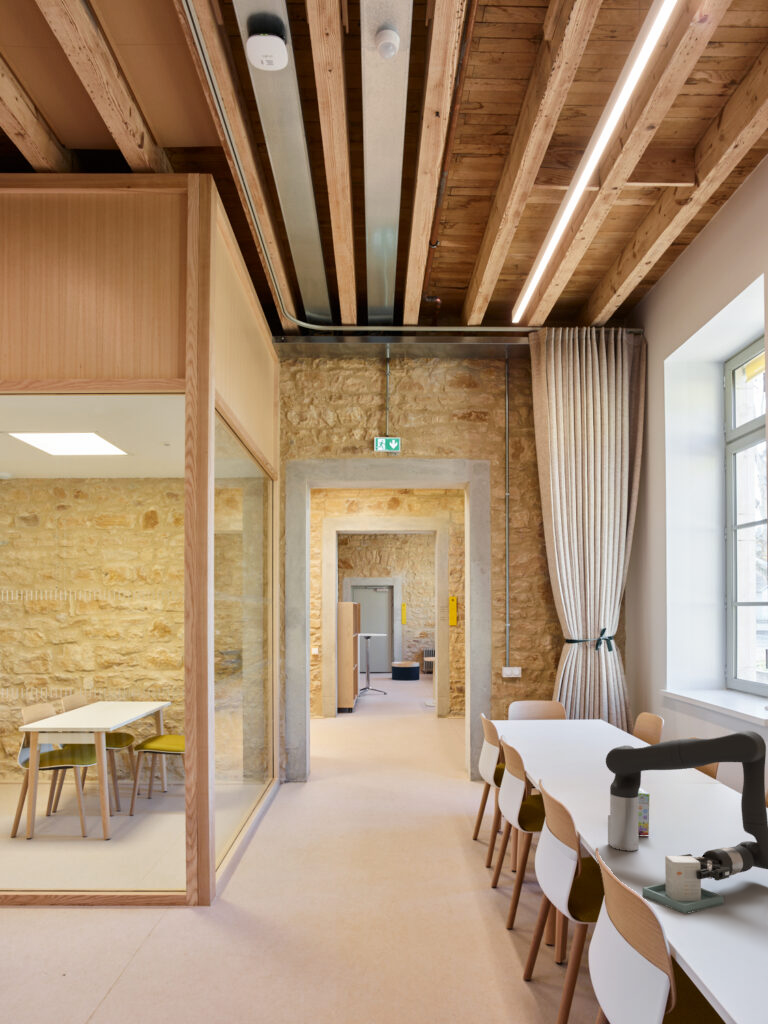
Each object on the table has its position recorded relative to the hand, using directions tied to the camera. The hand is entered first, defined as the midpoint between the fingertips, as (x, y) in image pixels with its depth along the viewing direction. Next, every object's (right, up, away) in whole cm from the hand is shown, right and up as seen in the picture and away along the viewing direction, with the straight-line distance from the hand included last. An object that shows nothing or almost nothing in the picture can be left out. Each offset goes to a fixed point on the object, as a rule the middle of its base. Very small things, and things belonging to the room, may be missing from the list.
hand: (684, 870), depth 225 cm
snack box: (+7, -16, +70) cm, 72 cm away
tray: (-1, -8, -1) cm, 8 cm away
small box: (-1, -8, -1) cm, 8 cm away
